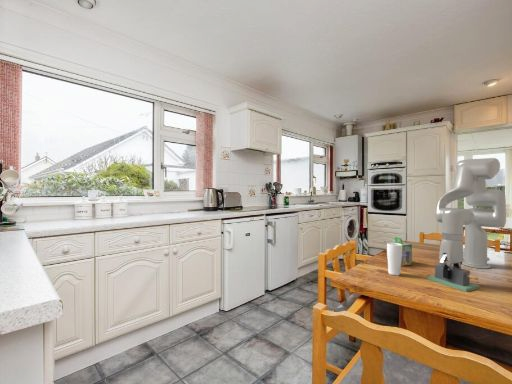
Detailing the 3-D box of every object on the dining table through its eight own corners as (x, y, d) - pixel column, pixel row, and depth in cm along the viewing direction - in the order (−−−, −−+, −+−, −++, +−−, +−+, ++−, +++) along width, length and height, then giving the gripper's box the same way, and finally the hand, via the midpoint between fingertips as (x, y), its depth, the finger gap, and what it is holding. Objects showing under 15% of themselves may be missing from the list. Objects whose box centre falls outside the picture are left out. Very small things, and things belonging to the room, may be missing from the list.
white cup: (400, 272, 131) (400, 243, 131) (403, 277, 124) (403, 245, 124) (385, 271, 133) (386, 242, 133) (387, 275, 127) (388, 244, 126)
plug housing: (441, 276, 123) (441, 263, 122) (480, 287, 108) (480, 273, 108) (434, 277, 121) (435, 264, 121) (474, 289, 106) (474, 274, 106)
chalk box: (412, 265, 144) (412, 238, 144) (398, 266, 142) (399, 239, 142) (399, 260, 153) (399, 235, 153) (386, 261, 151) (386, 236, 150)
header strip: (439, 276, 125) (439, 265, 125) (478, 288, 111) (478, 276, 111) (427, 279, 122) (427, 268, 122) (465, 291, 107) (466, 279, 107)
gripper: (454, 234, 123) (454, 272, 123) (431, 237, 116) (430, 277, 116) (473, 237, 116) (472, 277, 116) (449, 240, 109) (448, 283, 109)
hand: (451, 277), depth 116 cm, fingers open, 5 cm apart
